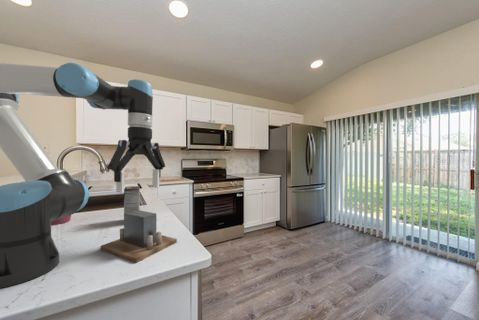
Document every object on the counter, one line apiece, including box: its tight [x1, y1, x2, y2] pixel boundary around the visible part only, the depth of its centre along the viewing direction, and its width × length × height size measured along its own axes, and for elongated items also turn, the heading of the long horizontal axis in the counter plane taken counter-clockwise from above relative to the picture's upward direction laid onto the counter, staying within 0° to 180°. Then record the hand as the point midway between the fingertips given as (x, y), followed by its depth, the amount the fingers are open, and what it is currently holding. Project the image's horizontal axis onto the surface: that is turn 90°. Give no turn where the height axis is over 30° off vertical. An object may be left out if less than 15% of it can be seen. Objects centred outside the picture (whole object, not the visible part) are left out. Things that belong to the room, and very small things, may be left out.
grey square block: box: [123, 209, 157, 248], centre depth 70 cm, size 5×10×10 cm, turn 63°
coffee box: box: [123, 185, 141, 214], centre depth 96 cm, size 9×6×16 cm
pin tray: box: [99, 227, 178, 264], centre depth 70 cm, size 16×18×5 cm
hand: (139, 189), depth 70 cm, fingers open, 13 cm apart
